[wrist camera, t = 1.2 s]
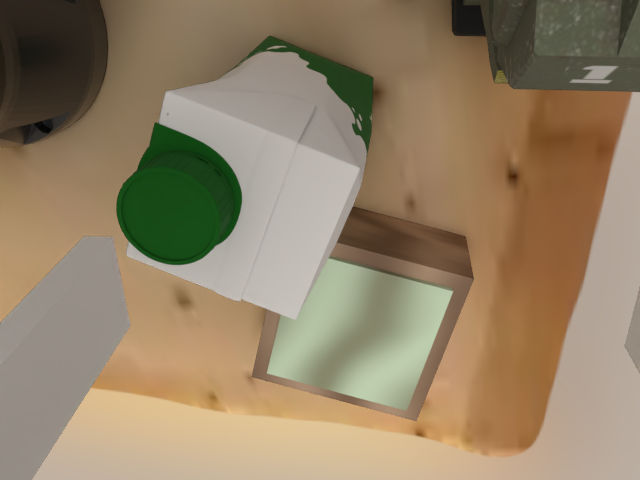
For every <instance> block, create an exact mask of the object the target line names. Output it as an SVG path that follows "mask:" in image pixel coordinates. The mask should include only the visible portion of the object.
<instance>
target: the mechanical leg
mask: <svg viewBox="0 0 640 480" xmlns="http://www.w3.org/2000/svg"><path fill="white" fill-rule="evenodd" d="M452 32H453V33H454V35H456V36H486V37H487V43H488V51H489V59H490V66H491V71H492V75H493V79H494V83H509V85H510V86H511V87H512V88H513V89H540V90H583V91H625V92H640V0H452Z"/></svg>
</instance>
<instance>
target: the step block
mask: <svg viewBox="0 0 640 480" xmlns="http://www.w3.org/2000/svg"><path fill="white" fill-rule="evenodd" d="M473 280H474V277H473V272H472V267H471V262H470V257H469V251H468V246H467V241H466V237H465V236H461V235H457V234H453V233H450V232H446V231H442V230H438V229H435V228H431V227H427V226H423V225H419V224H416V223H412V222H408V221H404V220H400V219H397V218H393V217H389V216H385V215H382V214H378V213H374V212H370V211H366V210H363V209H359V208H355V207H352V209H351V211H350V213H349V215H348V218H347V220H346V222H345V225H344V227H343V229H342V231H341V234H340V236H339V238H338V241H337V243H336V245H335V247H334V248H333V250H332V252H331V254H330V256H329V258H328V260H327V262H326V263H325V265H324V267H323V269H322V271H321V273H320V275H319V276H318V278H317V280H316V282H315V284H314V286H313V288H312V290H311V292H310V294H309V295H308V297H307V299H306V301H305V303H304V305H303V307H302V309H301V311H300V313H299V315H298V317H297V319H296V320H294V319H291V318H289V317H286V316H283V315H281V314H278V313H276V312H273V311H270V310H268V309H267V311H266V315H265V320H264V324H263V329H262V333H261V338H260V342H259V346H258V351H257V355H256V360H255V364H254V369H253V373H252V377H254V378H257V379H261V380H265V381H269V382H272V383H276V384H280V385H283V386H287V387H291V388H295V389H298V390H302V391H306V392H310V393H313V394H317V395H321V396H324V397H328V398H332V399H336V400H339V401H343V402H347V403H350V404H354V405H358V406H362V407H365V408H369V409H373V410H377V411H380V412H384V413H388V414H391V415H395V416H399V417H403V418H406V419H410V420H414V421H417V418H418V416H419V413H420V411H421V408H422V406H423V404H424V401H425V399H426V396H427V394H428V391H429V389H430V386H431V384H432V381H433V379H434V376H435V374H436V371H437V369H438V366H439V364H440V361H441V359H442V357H443V354H444V352H445V349H446V347H447V344H448V342H449V339H450V337H451V334H452V332H453V329H454V327H455V324H456V322H457V319H458V317H459V314H460V312H461V309H462V307H463V305H464V302H465V300H466V297H467V295H468V292H469V290H470V287H471V285H472V282H473Z"/></svg>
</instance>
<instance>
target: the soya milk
mask: <svg viewBox="0 0 640 480" xmlns="http://www.w3.org/2000/svg"><path fill="white" fill-rule="evenodd" d="M372 101H373V77H370V76H368V75H365V74H363V73H361V72H358V71H356V70H353V69H351V68H348V67H346V66H343V65H341V64H338V63H336V62H333V61H331V60H328V59H326V58H324V57H321V56H319V55H316V54H314V53H311V52H309V51H306V50H304V49H301V48H299V47H296V46H294V45H291V44H289V43H286V42H284V41H282V40H279V39H277V38H274V37H272V36H269V37H268V38H267V39H265V40H264V41H263V42H262V43H261V44H260V45H259V46H258V47H257V48H256V49H254V50H253V51H252V52H251V53H250V54H249V55H248V56H247V57H246V58H245V59H244V60H242V61H241V62H240V63H239V64H238V65H237V66H235V67H234V68H233V69H231V70H230V71H229V72H227V73H226V74H225V75H223V76H222V77H220V78H219V79H218V80H216V81H212V82H207V83H203V84H198V85H193V86H189V87H184V88H179V89H174V90H170V91H166V92H165V95H164V99H163V103H162V108H161V113H160V118H159V122H158V123H156V122H155V124H154V128H153V132H152V136H151V141H150V145H149V147H148V148H147V150H146V152H145V153H144V155H143V157H142V158H141V161H140V163H139V166H138V169H137V171H136V172H135V173H133V175H132V176H131V177H130V178H128V179H127V181H126V182H125V183H124V184H123V186H122V188H121V189H120V192H119V195H118V198H117V217H118V221H119V224H120V227H121V229H122V231H123V233H124V235H125V236H126V238H127V239H128V241H129V242H128V246H127V250H126V255H127V256H128V257H130V258H132V259H135V260H137V261H140V262H142V263H145V264H147V265H150V266H152V267H155V268H157V269H160V270H162V271H165V272H167V273H170V274H172V275H175V276H177V277H180V278H182V279H185V280H187V281H190V282H192V283H195V284H197V285H200V286H202V287H205V288H208V289H210V290H213V291H215V292H216V293H217V294H219V295H222V296H224V297H227V298H229V299H232V300H235V301H241V299H242V300H245V301H247V302H250V303H252V304H255V305H258V306H260V307H263V308H265V309H268V310H270V311H273V312H276V313H278V314H281V315H283V316H286V317H289V318H291V319H294V320H296V319H297V317H298V315H299V313H300V311H301V309H302V307H303V305H304V303H305V301H306V299H307V297H308V295H309V294H310V292H311V290H312V288H313V286H314V284H315V282H316V280H317V278H318V276H319V275H320V273H321V271H322V269H323V267H324V265H325V263H326V262H327V260H328V258H329V256H330V254H331V252H332V250H333V248H334V247H335V245H336V243H337V241H338V238H339V236H340V234H341V231H342V229H343V227H344V225H345V222H346V220H347V218H348V215H349V213H350V211H351V209H352V207H353V205H354V202H355V200H356V197H357V194H358V192H359V190H360V187H361V184H362V179H363V174H364V169H365V163H366V158H367V153H368V147H369V142H370V137H371V129H372Z"/></svg>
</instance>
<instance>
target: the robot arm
mask: <svg viewBox="0 0 640 480" xmlns="http://www.w3.org/2000/svg"><path fill="white" fill-rule="evenodd" d="M106 62H107V35H106V28H105V22H104V18H103V14H102V10H101V7H100V4H99V1H98V0H0V147H17V146H24V145H29V144H33V143H37V142H40V141H42V140H45V139H47V138H49V137H51V136H53V135H55V134H57V133H58V132H60V131H62V130H64V129H66V128H68V127H69V126H71V125H72V124H74V123H75V122H76V121H77V120H78V119H80V118H81V117H82V116H83V115H84V114H85V112H86V111H87V110H88V109H89V107H90V106H91V105H92V103H93V102H94V100H95V98H96V96H97V94H98V92H99V90H100V87H101V84H102V81H103V78H104V74H105V69H106ZM129 327H130V321H129V316H128V311H127V306H126V301H125V296H124V291H123V286H122V280H121V275H120V270H119V265H118V260H117V255H116V250H115V245H114V240H113V237H97V236H84V237H83V238H82V239H81V240H80V241H79V242H78V243H77V244H76V245H75V246H74V247H73V248H72V249H71V250H70V251H69V252H68V253H67V255H66V256H65V257H64V258H63V259H62V260H61V261H60V262H59V263H58V264H57V265H56V266H55V267H54V268H53V269H52V270H51V271H50V272H49V273H48V274H47V275H46V276H45V277H44V278H43V279H42V280H41V281H40V282H39V283H38V284H37V285H36V286H35V288H34V289H33V290H32V291H31V292H30V293H29V294H28V295H27V296H26V297H25V298H24V299H23V300H22V301H21V302H20V303H19V304H18V305H17V306H16V307H15V308H14V309H13V310H12V311H11V312H10V313H9V314H8V315H7V316H6V317H5V318H4V319H3V320H2V322H1V323H0V480H32V479H33V477H34V475H35V474H36V472H37V471H38V469H39V468H40V466H41V464H42V463H43V461H44V460H45V458H46V457H47V455H48V454H49V452H50V450H51V449H52V447H53V446H54V444H55V443H56V441H57V440H58V438H59V436H60V435H61V433H62V432H63V430H64V429H65V427H66V426H67V424H68V422H69V421H70V419H71V418H72V416H73V414H74V413H75V411H76V410H77V408H78V407H79V405H80V404H81V402H82V401H83V399H84V397H85V396H86V394H87V393H88V391H89V390H90V388H91V386H92V385H93V383H94V382H95V380H96V379H97V377H98V376H99V374H100V372H101V371H102V369H103V368H104V366H105V365H106V363H107V361H108V360H109V358H110V357H111V355H112V354H113V352H114V350H115V349H116V347H117V346H118V344H119V343H120V341H121V340H122V338H123V336H124V335H125V333H126V332H127V330H128V329H129ZM625 348H626V350H627V352H628V353H629V355H630V357H631V358H632V360H633V362H634V364H635V366H636V368H637V369H638V371H639V373H640V288H639V292H638V297H637V301H636V304H635V308H634V312H633V316H632V320H631V324H630V327H629V331H628V335H627V339H626V343H625Z"/></svg>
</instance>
